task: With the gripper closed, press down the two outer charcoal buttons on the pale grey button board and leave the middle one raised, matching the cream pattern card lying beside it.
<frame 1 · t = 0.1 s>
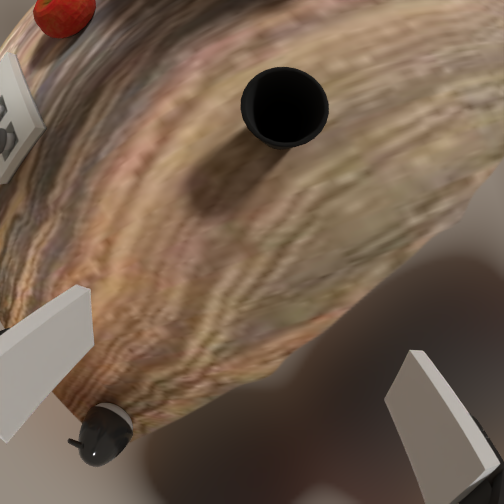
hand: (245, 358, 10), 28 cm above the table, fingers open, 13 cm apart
cup: (280, 128, 34), on the table
apple: (78, 18, 30), on the table
button a: (1, 141, 31), point 5 cm above the table, slide at 0.0 cm
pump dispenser: (116, 412, 49), on the table
board: (8, 114, 34), on the table
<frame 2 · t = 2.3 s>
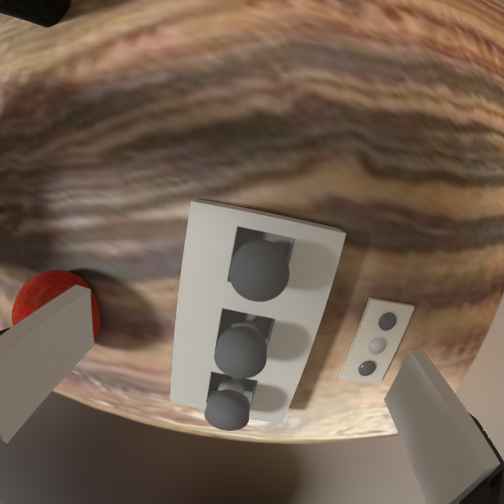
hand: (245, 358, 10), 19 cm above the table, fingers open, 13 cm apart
cup: (56, 12, 22), on the table
button c: (229, 402, 29), point 5 cm above the table, slide at 0.0 cm
button b: (242, 344, 27), point 5 cm above the table, slide at 0.0 cm
apple: (76, 301, 32), on the table
pattern card: (375, 342, 31), on the table
button a: (260, 265, 24), point 5 cm above the table, slide at 0.0 cm
board: (245, 322, 31), on the table
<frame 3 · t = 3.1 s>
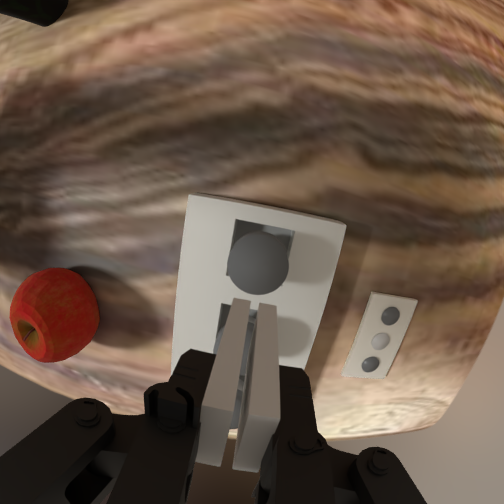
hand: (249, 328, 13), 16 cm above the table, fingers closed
cup: (54, 11, 22), on the table
button c: (229, 400, 28), point 5 cm above the table, slide at 0.0 cm
button b: (242, 340, 26), point 5 cm above the table, slide at 0.0 cm
apple: (74, 299, 32), on the table
pattern card: (378, 338, 30), on the table
button a: (259, 257, 24), point 5 cm above the table, slide at 0.0 cm
board: (246, 317, 30), on the table
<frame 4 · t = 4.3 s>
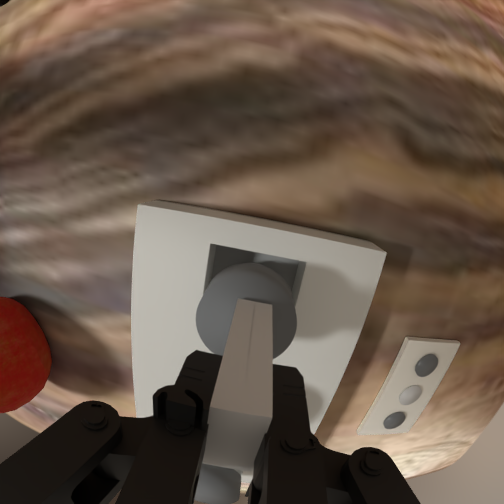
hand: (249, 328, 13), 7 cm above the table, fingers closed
button c: (213, 472, 19), point 5 cm above the table, slide at 0.0 cm
apple: (25, 333, 22), on the table
pattern card: (407, 390, 21), on the table
button a: (249, 302, 15), point 4 cm above the table, slide at 0.8 cm, touching gripper
board: (233, 374, 21), on the table
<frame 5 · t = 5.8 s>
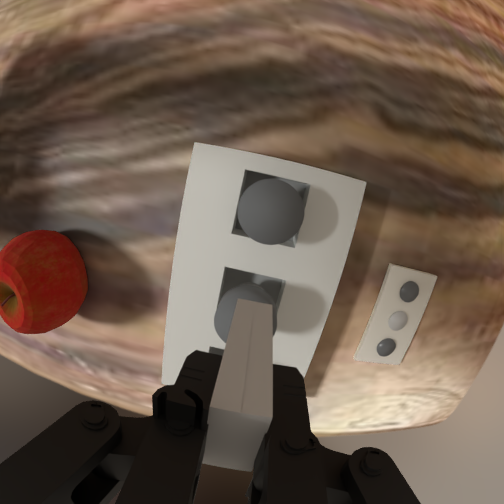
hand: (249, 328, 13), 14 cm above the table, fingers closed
button b: (247, 309, 23), point 5 cm above the table, slide at 0.0 cm
apple: (62, 268, 29), on the table
pattern card: (395, 317, 27), on the table
button a: (270, 208, 22), point 3 cm above the table, slide at 1.3 cm
board: (251, 288, 27), on the table
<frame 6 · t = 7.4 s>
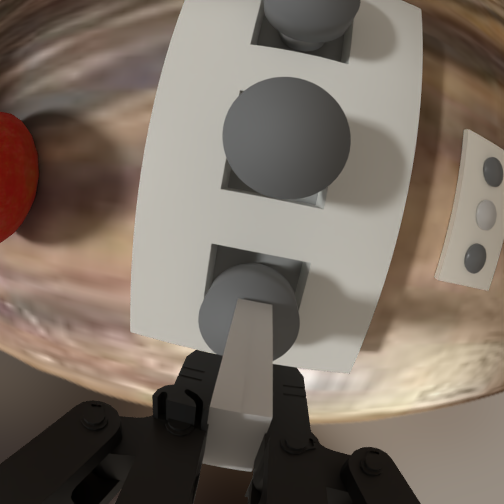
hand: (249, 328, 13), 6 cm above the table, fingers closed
button c: (251, 303, 15), point 3 cm above the table, slide at 1.2 cm, touching gripper
button b: (284, 143, 12), point 5 cm above the table, slide at 0.0 cm
apple: (13, 174, 18), on the table
pattern card: (480, 213, 16), on the table
button a: (307, 13, 11), point 3 cm above the table, slide at 1.3 cm
board: (280, 152, 16), on the table
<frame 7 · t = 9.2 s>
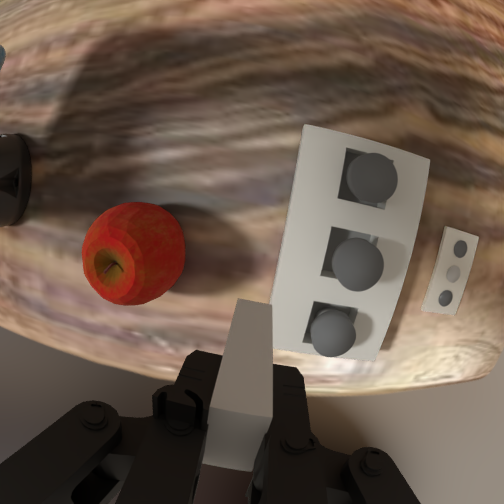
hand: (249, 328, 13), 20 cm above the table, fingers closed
button c: (330, 327, 30), point 3 cm above the table, slide at 1.3 cm
button b: (353, 260, 27), point 5 cm above the table, slide at 0.0 cm
apple: (151, 243, 33), on the table
pattern card: (450, 272, 31), on the table
button a: (367, 178, 26), point 3 cm above the table, slide at 1.3 cm
board: (343, 249, 31), on the table
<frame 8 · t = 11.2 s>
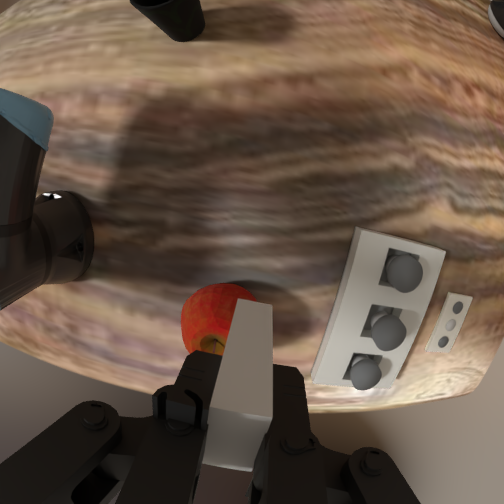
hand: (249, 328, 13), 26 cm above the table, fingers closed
cup: (186, 27, 32), on the table
button c: (363, 369, 39), point 3 cm above the table, slide at 1.3 cm
button b: (385, 328, 36), point 5 cm above the table, slide at 0.0 cm
apple: (226, 309, 42), on the table
pattern card: (448, 323, 40), on the table
button a: (400, 270, 35), point 3 cm above the table, slide at 1.3 cm
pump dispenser: (498, 27, 25), on the table
board: (375, 313, 40), on the table
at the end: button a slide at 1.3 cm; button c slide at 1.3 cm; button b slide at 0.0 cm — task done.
